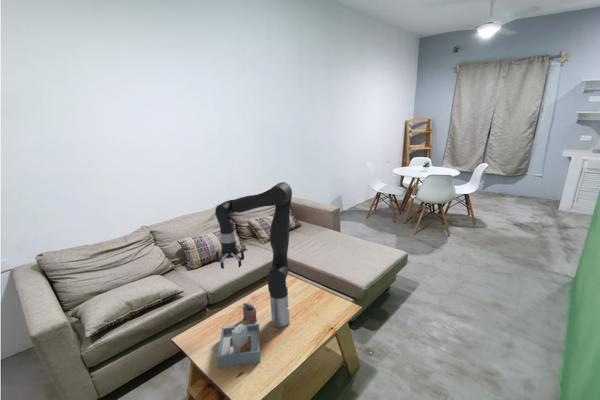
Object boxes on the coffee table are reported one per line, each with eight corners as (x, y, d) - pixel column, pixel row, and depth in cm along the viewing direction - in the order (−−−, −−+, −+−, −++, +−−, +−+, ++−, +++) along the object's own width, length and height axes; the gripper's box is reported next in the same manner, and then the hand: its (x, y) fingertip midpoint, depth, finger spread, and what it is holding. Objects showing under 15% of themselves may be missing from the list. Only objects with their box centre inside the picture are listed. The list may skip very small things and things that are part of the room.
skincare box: (240, 355, 135) (238, 334, 132) (233, 352, 137) (231, 331, 134) (249, 347, 140) (247, 326, 137) (242, 343, 142) (240, 323, 139)
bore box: (259, 333, 148) (258, 323, 146) (260, 362, 131) (259, 351, 129) (223, 337, 146) (222, 327, 144) (218, 368, 129) (217, 357, 127)
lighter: (258, 320, 158) (257, 304, 155) (254, 324, 155) (253, 308, 152) (245, 316, 161) (244, 300, 158) (242, 319, 158) (240, 304, 155)
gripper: (242, 235, 156) (245, 262, 161) (215, 237, 154) (218, 265, 159) (242, 241, 149) (244, 269, 154) (213, 243, 147) (216, 272, 152)
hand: (231, 267), depth 156 cm, fingers open, 8 cm apart
